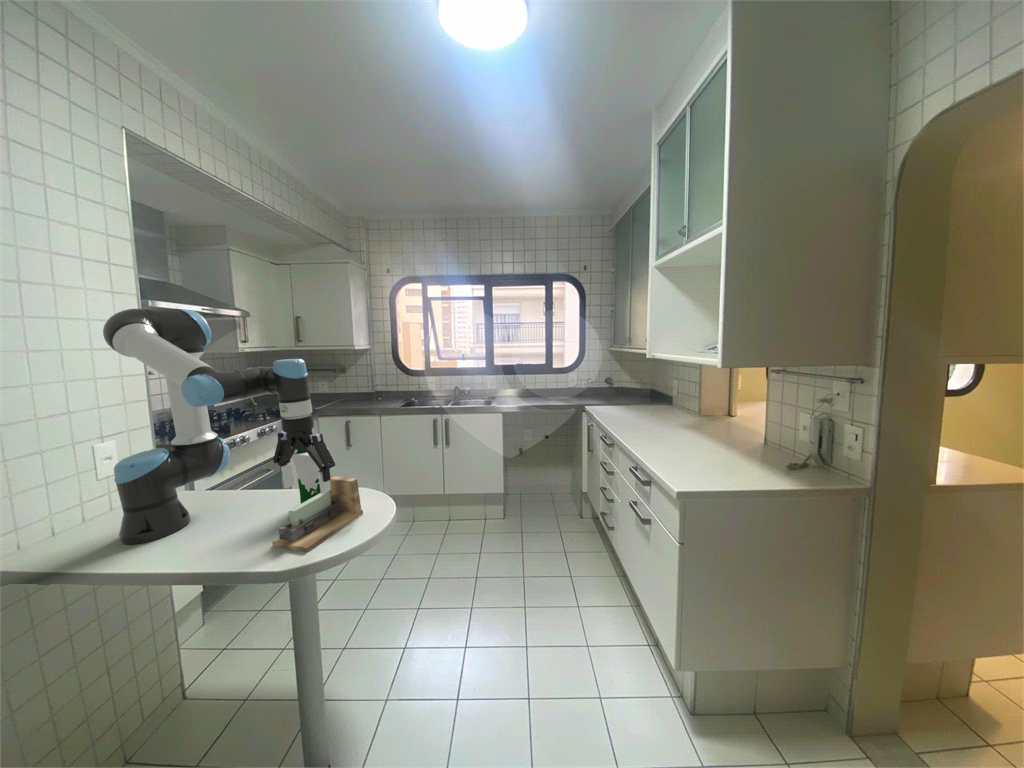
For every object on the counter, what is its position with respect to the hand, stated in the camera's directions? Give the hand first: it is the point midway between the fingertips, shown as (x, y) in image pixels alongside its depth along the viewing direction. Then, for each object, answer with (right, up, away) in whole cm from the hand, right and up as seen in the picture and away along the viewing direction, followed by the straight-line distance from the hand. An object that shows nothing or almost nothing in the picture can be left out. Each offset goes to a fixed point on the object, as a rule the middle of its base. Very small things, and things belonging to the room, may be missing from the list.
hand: (307, 489), depth 104 cm
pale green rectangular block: (+1, -10, +1) cm, 10 cm away
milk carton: (-6, -10, +17) cm, 20 cm away
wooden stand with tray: (+3, -11, +1) cm, 12 cm away
